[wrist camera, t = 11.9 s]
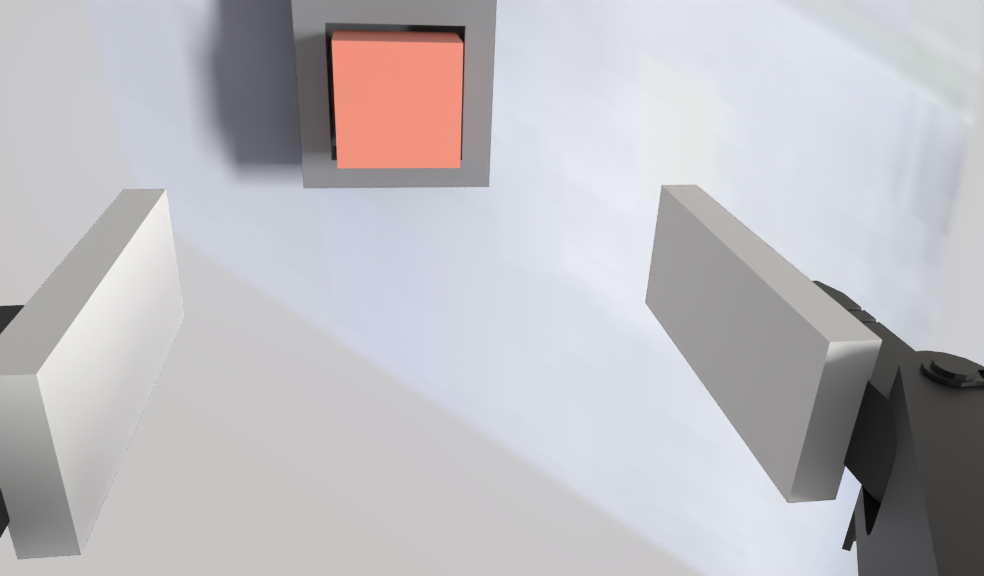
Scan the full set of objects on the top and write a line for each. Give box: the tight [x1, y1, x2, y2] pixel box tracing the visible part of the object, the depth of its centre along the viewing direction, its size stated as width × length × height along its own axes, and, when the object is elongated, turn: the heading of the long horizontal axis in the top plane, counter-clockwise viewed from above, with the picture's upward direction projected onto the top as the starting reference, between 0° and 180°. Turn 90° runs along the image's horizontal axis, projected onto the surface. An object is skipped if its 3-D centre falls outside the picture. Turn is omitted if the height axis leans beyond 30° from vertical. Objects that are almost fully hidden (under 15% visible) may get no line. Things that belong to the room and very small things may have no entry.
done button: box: [332, 30, 463, 168], centre depth 28 cm, size 4×4×2 cm
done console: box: [291, 0, 497, 188], centre depth 30 cm, size 7×7×3 cm
